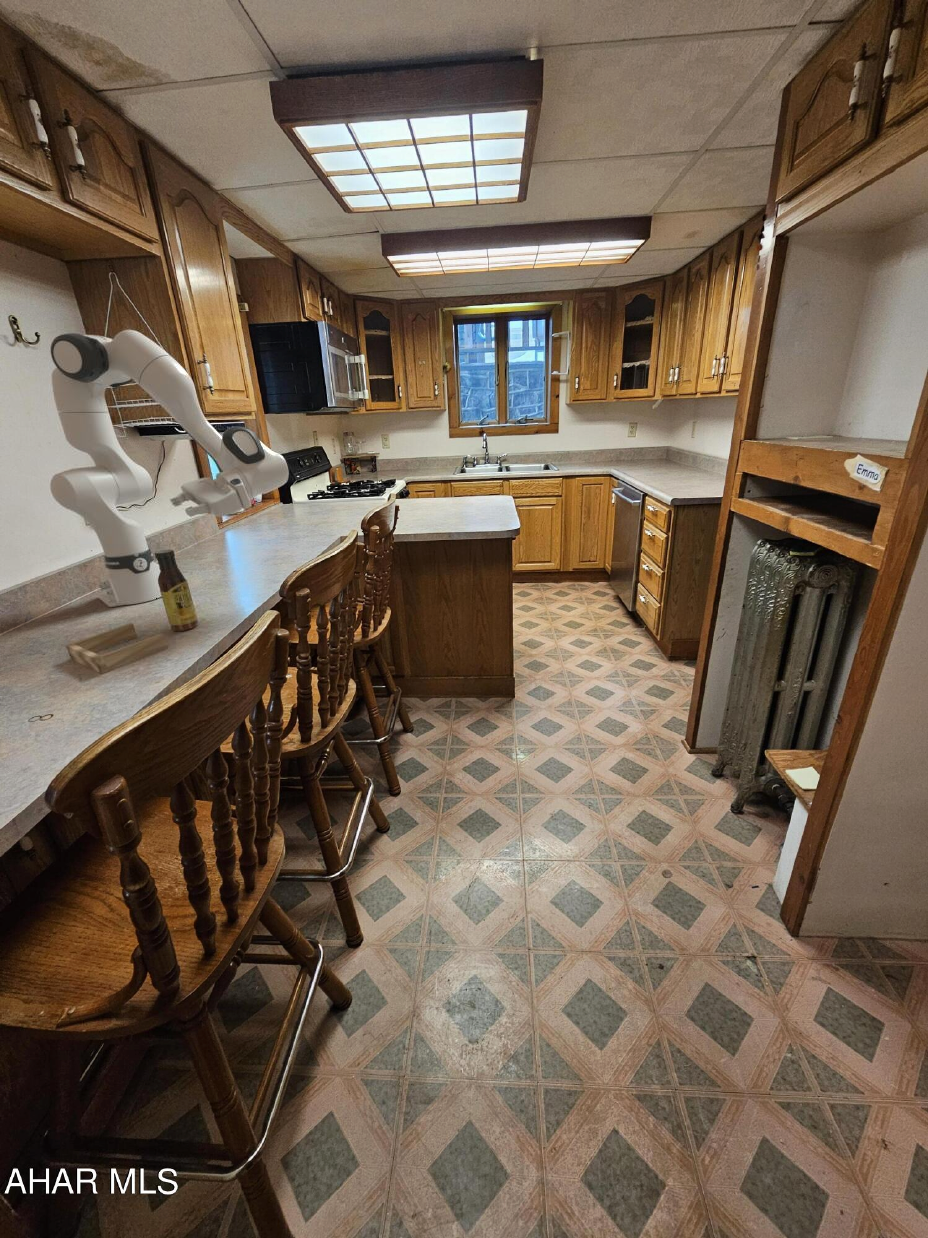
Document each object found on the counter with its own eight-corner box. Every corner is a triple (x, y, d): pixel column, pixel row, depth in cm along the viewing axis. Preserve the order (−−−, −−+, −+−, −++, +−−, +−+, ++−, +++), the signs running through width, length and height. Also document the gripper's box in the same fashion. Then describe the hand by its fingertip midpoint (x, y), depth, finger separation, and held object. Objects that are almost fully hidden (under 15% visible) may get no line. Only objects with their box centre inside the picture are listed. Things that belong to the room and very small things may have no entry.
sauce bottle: (187, 632, 120) (163, 554, 112) (166, 632, 121) (140, 555, 114) (205, 622, 126) (183, 547, 118) (184, 622, 127) (161, 548, 119)
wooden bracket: (168, 647, 112) (163, 634, 111) (102, 673, 101) (96, 659, 100) (135, 636, 120) (130, 623, 119) (71, 659, 110) (65, 645, 108)
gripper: (209, 467, 131) (157, 486, 123) (245, 485, 119) (190, 506, 112) (219, 489, 135) (169, 508, 127) (254, 508, 123) (201, 531, 116)
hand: (179, 508), depth 119 cm, fingers open, 8 cm apart
